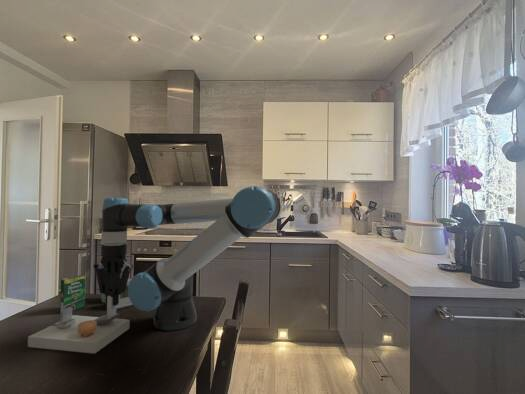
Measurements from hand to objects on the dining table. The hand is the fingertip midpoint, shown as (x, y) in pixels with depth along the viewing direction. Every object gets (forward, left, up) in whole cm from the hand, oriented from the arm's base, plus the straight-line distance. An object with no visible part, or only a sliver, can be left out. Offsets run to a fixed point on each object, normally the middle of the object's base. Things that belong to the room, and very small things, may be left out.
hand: (111, 314), depth 90 cm
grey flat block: (+2, 0, -2) cm, 3 cm away
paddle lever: (+13, +4, -3) cm, 14 cm away
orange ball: (+2, +8, -5) cm, 9 cm away
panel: (+7, +4, -6) cm, 10 cm away
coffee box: (+28, -15, -6) cm, 32 cm away
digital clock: (+9, -25, -6) cm, 27 cm away
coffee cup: (+21, -27, -6) cm, 35 cm away
